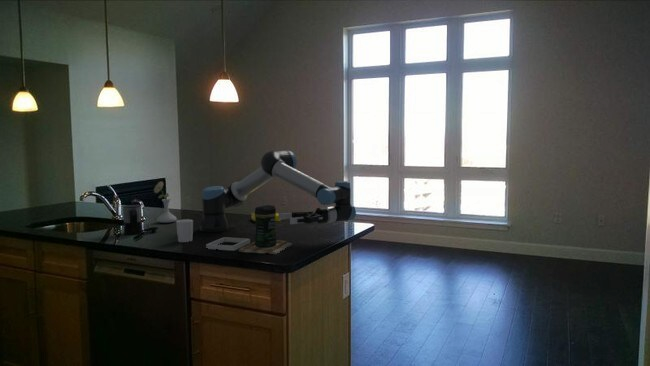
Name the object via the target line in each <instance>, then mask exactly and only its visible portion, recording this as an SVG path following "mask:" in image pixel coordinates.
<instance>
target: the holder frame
mask: <svg viewBox="0 0 650 366" xmlns="http://www.w3.org/2000/svg"><path fill="white" fill-rule="evenodd" d="M220 243H221V244H220ZM223 243H236V244H233V245H228V244H223ZM218 244H219V245H218ZM249 244H251V239H250V238H245V237H243V238H241V237H228V236H227V237H224V236H223V237H221V238H218V239H216V240H213V241H211V242H209V243H207V244H205V248H208V249H207V250H216V249H218V250H219V251H220V250H221V251H237V250H239V249H241V248H243V247H245V246H247V245H249ZM218 250H217V251H218Z"/></svg>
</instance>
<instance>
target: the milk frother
mask: <svg viewBox="0 0 650 366" xmlns="http://www.w3.org/2000/svg"><path fill="white" fill-rule="evenodd" d="M141 206H142V204H128V205H122V211H123V212H122V214H123V215H122V216H123V227H124V229H123V231H124V232H123V234H124V235H129V236H130V235H140V234H142V233H143V232H153V233H154V232H156V231H157V230H159V227H158V226H152V227H147V228H144V229H143V228H142V210H141Z"/></svg>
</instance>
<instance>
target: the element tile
mask: <svg viewBox="0 0 650 366" xmlns="http://www.w3.org/2000/svg"><path fill="white" fill-rule="evenodd" d="M279 214H280V213H278V212H276V216H275V222H281V221H282V220H279ZM251 220H252V221H253V222H255V223H256V218H255V212H252V213H251Z"/></svg>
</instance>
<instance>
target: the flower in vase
mask: <svg viewBox="0 0 650 366" xmlns="http://www.w3.org/2000/svg"><path fill="white" fill-rule="evenodd" d="M163 186H164V182H163V181H161V180H160V181H158V183H157V184H156V185H155V186H154V188H153V193H155V194H158V193H160V192H161V194H160V195H159V196H158V197H157V198H158V199H161V201H162V202H163V203H162V204H163V206H164V212H163V213H162V214H160V216H159V217H157V219H156V222H158V223H164V224H168V223H174V222H176V221H178V219H177V216H175V215H174V214H173V213H171V212H170V211H169V203H170V201H171V199H170V198H168V197H169V196H170V195H169V192H167V193H165V194H164V192H163V190H162V189H163V188H164V187H163ZM162 198H164V199H162Z"/></svg>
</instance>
